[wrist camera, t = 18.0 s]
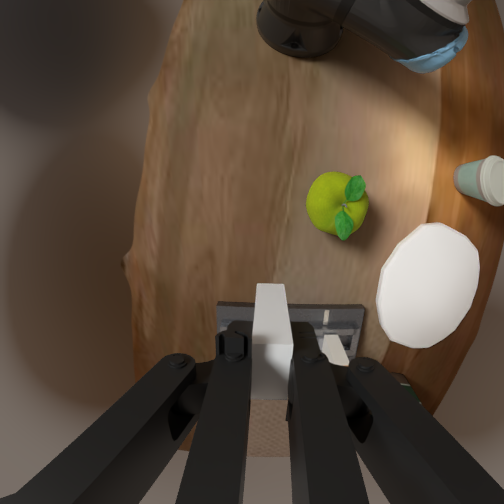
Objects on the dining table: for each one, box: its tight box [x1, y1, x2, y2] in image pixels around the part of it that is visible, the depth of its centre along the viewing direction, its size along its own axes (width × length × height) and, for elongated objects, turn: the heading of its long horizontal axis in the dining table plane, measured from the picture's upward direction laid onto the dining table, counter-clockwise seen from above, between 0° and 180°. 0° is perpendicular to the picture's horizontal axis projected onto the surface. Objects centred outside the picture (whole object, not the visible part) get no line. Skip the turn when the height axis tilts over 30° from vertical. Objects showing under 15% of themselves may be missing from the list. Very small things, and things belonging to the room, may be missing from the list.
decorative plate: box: [376, 222, 480, 348], centre depth 48 cm, size 25×4×25 cm
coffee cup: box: [454, 156, 504, 206], centre depth 38 cm, size 8×8×12 cm
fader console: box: [217, 301, 365, 362], centre depth 51 cm, size 26×12×4 cm, turn 89°
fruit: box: [306, 172, 369, 240], centre depth 42 cm, size 9×9×10 cm
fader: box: [317, 335, 349, 366], centre depth 44 cm, size 4×4×12 cm
